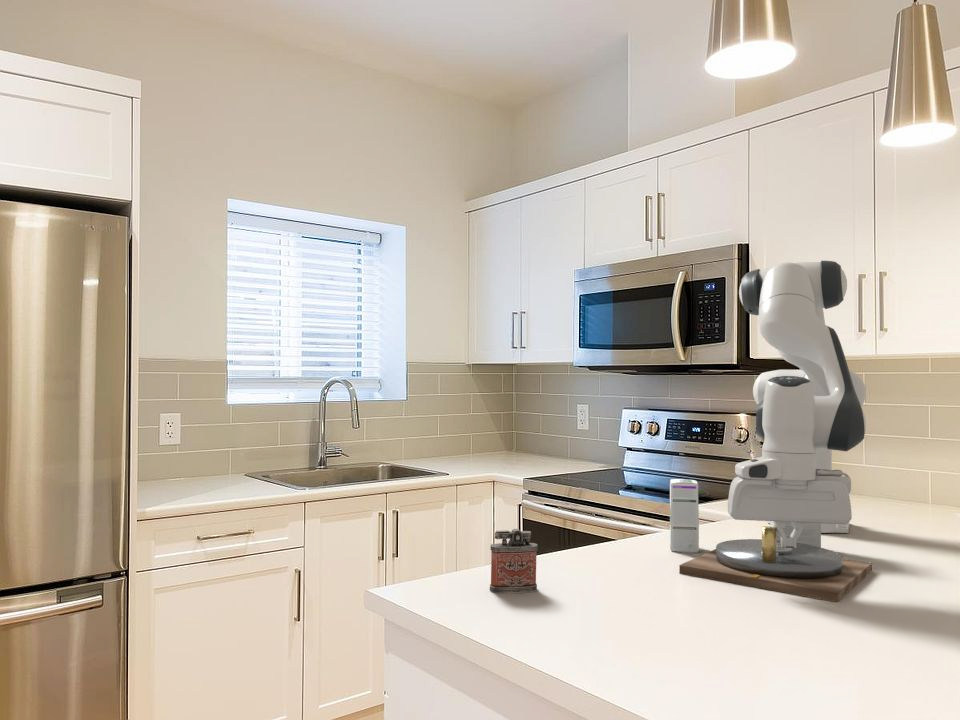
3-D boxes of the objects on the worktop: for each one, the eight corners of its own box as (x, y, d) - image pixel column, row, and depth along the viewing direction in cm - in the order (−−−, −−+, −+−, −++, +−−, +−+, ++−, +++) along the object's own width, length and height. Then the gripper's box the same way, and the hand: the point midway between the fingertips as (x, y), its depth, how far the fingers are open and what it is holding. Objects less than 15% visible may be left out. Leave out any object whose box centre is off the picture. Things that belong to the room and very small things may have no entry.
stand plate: (731, 549, 160) (731, 541, 160) (872, 570, 143) (872, 561, 143) (679, 573, 139) (679, 563, 139) (837, 602, 122) (837, 591, 122)
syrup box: (699, 553, 155) (700, 482, 156) (669, 551, 156) (670, 481, 157) (697, 547, 161) (697, 479, 161) (668, 545, 162) (669, 478, 162)
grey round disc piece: (729, 544, 156) (729, 505, 156) (847, 558, 145) (847, 517, 145) (703, 566, 137) (704, 522, 137) (836, 584, 126) (837, 536, 126)
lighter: (533, 586, 128) (534, 527, 128) (539, 591, 125) (540, 531, 125) (487, 587, 126) (488, 528, 127) (492, 593, 123) (493, 532, 123)
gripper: (844, 468, 134) (844, 546, 133) (726, 464, 137) (725, 541, 136) (857, 472, 128) (857, 554, 127) (733, 468, 130) (732, 548, 130)
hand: (788, 547), depth 132 cm, fingers closed
